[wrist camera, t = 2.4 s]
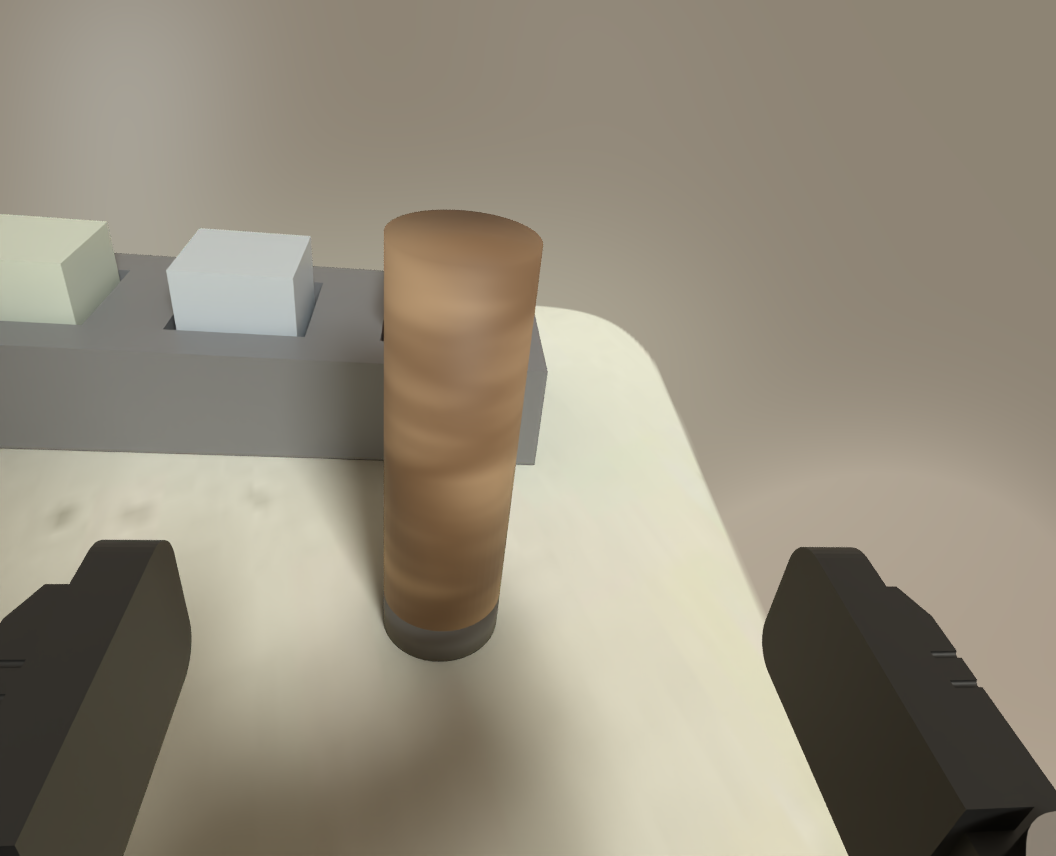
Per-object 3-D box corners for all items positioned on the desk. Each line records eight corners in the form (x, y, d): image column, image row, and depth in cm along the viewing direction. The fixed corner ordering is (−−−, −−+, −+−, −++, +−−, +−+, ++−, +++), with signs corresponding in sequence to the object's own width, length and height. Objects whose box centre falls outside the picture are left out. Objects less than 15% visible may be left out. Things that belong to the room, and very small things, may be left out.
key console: (-96, 444, 31) (-144, 337, 28) (16, 336, 39) (-13, 244, 36) (534, 464, 34) (547, 372, 32) (517, 361, 42) (526, 280, 40)
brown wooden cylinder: (379, 661, 24) (378, 259, 17) (387, 574, 28) (388, 204, 20) (499, 661, 25) (551, 272, 17) (493, 575, 28) (535, 215, 21)
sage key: (-41, 355, 31) (-78, 254, 29) (15, 305, 35) (-13, 213, 33) (85, 361, 32) (60, 263, 30) (126, 311, 36) (107, 221, 34)
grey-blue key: (182, 366, 33) (166, 270, 30) (212, 316, 37) (199, 228, 34) (299, 371, 33) (293, 278, 31) (315, 322, 37) (310, 236, 35)
